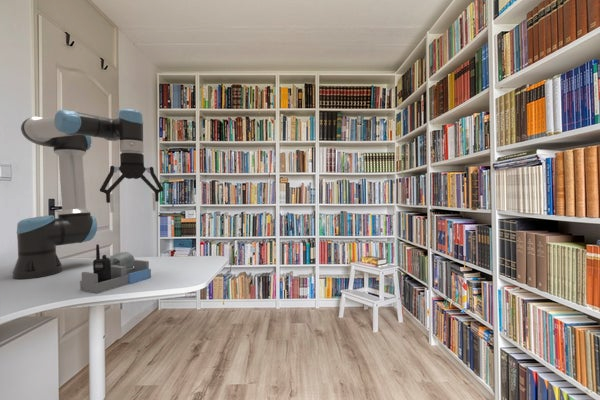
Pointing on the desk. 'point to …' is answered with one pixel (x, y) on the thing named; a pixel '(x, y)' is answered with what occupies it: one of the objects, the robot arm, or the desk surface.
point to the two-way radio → (102, 266)
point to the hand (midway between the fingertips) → (133, 211)
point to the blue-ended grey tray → (116, 277)
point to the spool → (122, 259)
